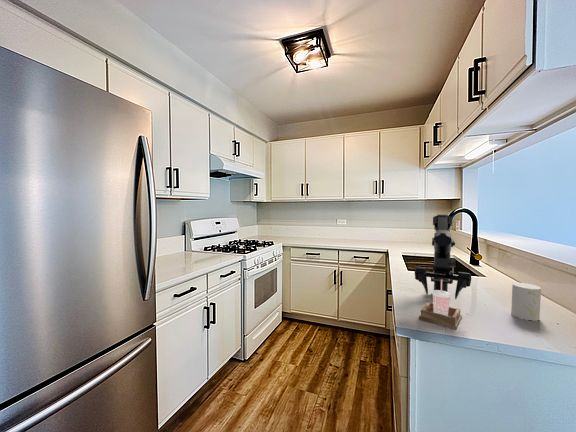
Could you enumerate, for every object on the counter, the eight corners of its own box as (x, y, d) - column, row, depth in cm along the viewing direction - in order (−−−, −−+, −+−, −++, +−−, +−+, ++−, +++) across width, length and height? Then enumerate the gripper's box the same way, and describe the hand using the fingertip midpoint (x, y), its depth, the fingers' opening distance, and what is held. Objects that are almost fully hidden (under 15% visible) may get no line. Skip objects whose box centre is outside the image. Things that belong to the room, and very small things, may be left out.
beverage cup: (454, 318, 97) (455, 281, 97) (440, 320, 96) (441, 282, 95) (440, 312, 103) (441, 276, 103) (427, 313, 102) (428, 277, 101)
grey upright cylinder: (529, 322, 97) (531, 290, 96) (505, 313, 104) (507, 283, 104) (545, 319, 99) (546, 288, 98) (520, 311, 107) (522, 281, 106)
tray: (427, 309, 108) (427, 301, 108) (461, 318, 100) (462, 309, 100) (418, 319, 99) (418, 310, 99) (456, 329, 91) (456, 319, 91)
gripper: (415, 247, 106) (412, 281, 97) (471, 251, 97) (473, 289, 88) (416, 262, 114) (413, 295, 105) (469, 268, 104) (470, 305, 95)
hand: (441, 296), depth 98 cm, fingers open, 9 cm apart
